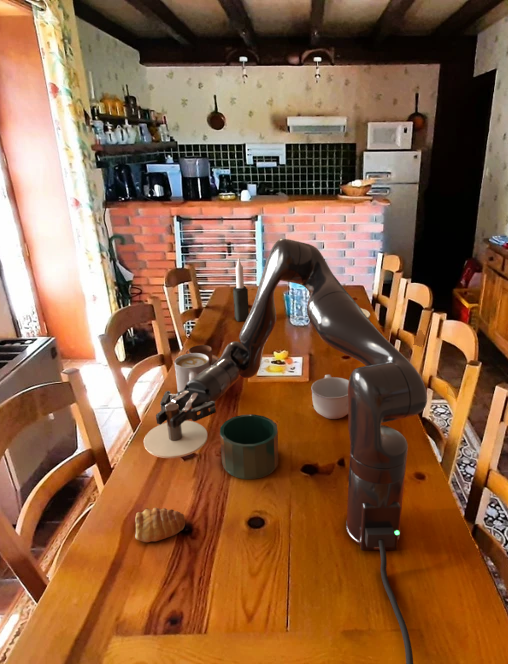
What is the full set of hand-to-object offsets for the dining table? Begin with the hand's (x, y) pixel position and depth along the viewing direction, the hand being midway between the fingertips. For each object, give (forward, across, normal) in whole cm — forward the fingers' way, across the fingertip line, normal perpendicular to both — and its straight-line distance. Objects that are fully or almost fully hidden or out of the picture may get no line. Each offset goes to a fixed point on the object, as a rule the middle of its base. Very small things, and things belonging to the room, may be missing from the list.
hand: (165, 422), depth 100 cm
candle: (-95, -33, +14) cm, 102 cm away
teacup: (-41, +22, +14) cm, 49 cm away
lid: (-3, 0, +6) cm, 7 cm away
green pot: (-12, +13, +14) cm, 23 cm away
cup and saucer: (-50, -24, +14) cm, 57 cm away
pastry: (+14, +6, +14) cm, 21 cm away
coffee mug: (-34, -17, +14) cm, 40 cm away
